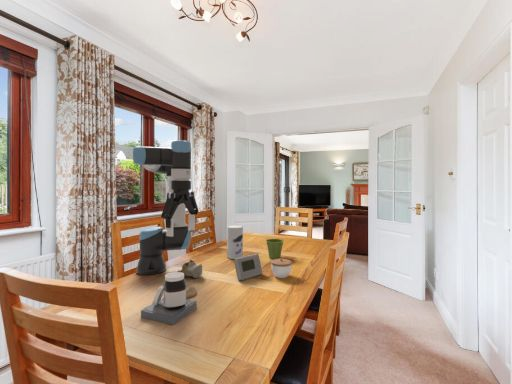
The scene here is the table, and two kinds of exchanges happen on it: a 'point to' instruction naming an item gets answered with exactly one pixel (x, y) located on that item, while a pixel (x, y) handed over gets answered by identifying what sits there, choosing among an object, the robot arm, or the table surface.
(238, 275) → the digital clock
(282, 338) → the table surface
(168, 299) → the spread jar
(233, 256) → the container
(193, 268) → the ceramic sculpture
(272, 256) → the plant pot
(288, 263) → the lidded jar
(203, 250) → the table surface
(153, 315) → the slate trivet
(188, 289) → the oak coaster
